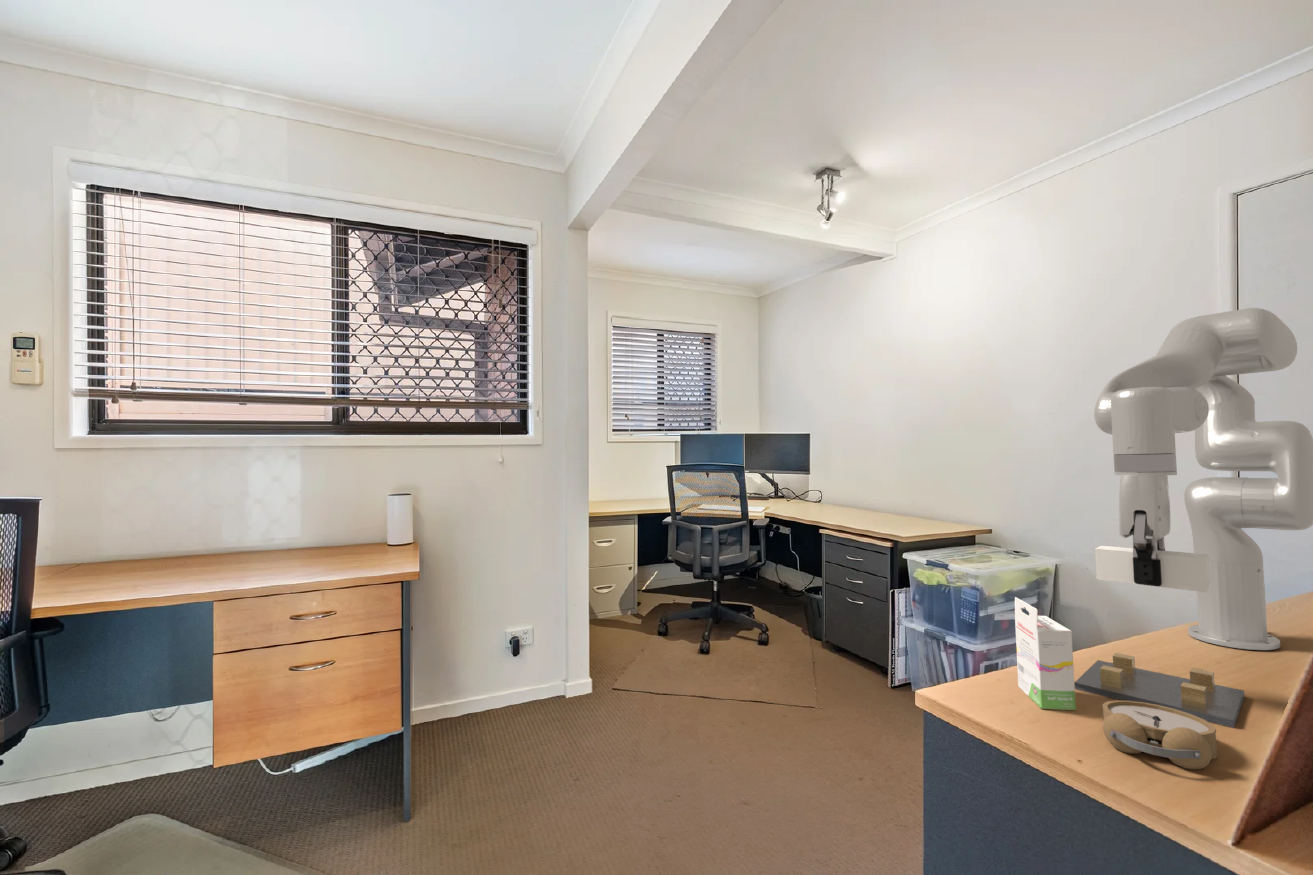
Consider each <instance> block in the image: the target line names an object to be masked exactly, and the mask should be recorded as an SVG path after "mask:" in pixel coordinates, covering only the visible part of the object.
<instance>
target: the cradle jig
mask: <svg viewBox="0 0 1313 875" xmlns="http://www.w3.org/2000/svg"><path fill="white" fill-rule="evenodd" d="M1135 658H1136V656H1133V655H1129V654H1123V653H1118V652H1115V653H1114V654H1113V655H1112V662H1108V661H1103V660H1098V659H1097V660H1096V661H1095V662H1094V663H1093V664H1092V665H1091V666H1090V667H1089V668H1088V669H1087V670H1086V671H1085V672H1083V673H1082V674H1081V675H1080V677H1078V678H1077V679H1076V681H1074V685H1075V690H1078V691H1082V692H1086V693H1090V694H1094V695H1099V696H1103V697H1106V698H1110V699H1114V700H1121V701H1136V702H1144V703H1149V704H1155V705H1160V706H1164V707H1168V708H1172V709H1176V710H1179V711H1183V712H1186V713H1189V714H1192V715H1194V716H1197V717H1199V718H1202V719H1204V720H1206V721H1207V722H1209V723H1211V724H1217V725H1221V726H1225V727H1229V728H1232V729H1235V726H1236V724H1237V721H1238V717H1239V715H1240V711H1241V708H1242V705H1243V703H1244V700H1245V696H1246V695H1245V690H1244V689H1243V690H1242V689H1238V688H1235V687H1234V688H1233V687H1229V686H1223V685H1220V684H1216V683H1215V672H1214V671H1210V670H1205V669H1201V668H1200V669H1199V668H1195V667H1191V668H1190V670H1189V678H1186V677H1180V676H1177V675H1171V674H1167V673H1161V672H1156V671H1152V670H1146V669H1142V668H1139V667H1136V660H1135Z"/></svg>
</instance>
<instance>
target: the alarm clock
mask: <svg viewBox="0 0 1313 875" xmlns="http://www.w3.org/2000/svg"><path fill="white" fill-rule="evenodd" d="M1102 712H1103V723H1102V724H1103V725H1102V728H1103V730H1102V731H1103V733H1104V736H1105V738H1106V740H1107V741H1108V742H1109V743H1110V744H1111V746H1113V747H1114V748H1115V749H1117V750H1119V751H1120V752H1122V753H1126V754H1130V755H1134V754H1140V753H1142V752H1143V753H1146V754H1148V755H1149V754H1150V755H1153V756H1156V757H1157V756H1158V757H1163V758H1168V759H1169V760H1170V761H1171V762H1172V763H1173V764H1175V765H1177V766H1178V767H1180V768H1183V769H1186V770H1200V769H1204V768H1206V766H1207V767H1208V765H1210V762H1211V760H1215V759H1216V758H1217V757H1218V749H1217V736H1216V735H1217V728H1216V727H1215V726H1214V724H1213V723H1212V722H1208V721H1206V720H1204V719H1202V718H1199V717H1197V716H1194V715H1192V714H1189V713H1186V712H1183V711H1179V710H1176V709H1172V708H1168V707H1164V706H1160V705H1155V704H1149V703H1144V702H1136V701H1122V700H1118V699H1114V700H1108V701H1106V702H1104V703H1103V704H1102Z"/></svg>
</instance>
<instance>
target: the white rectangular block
mask: <svg viewBox="0 0 1313 875" xmlns="http://www.w3.org/2000/svg"><path fill="white" fill-rule="evenodd" d="M1157 552H1158V559H1157V560H1160V563H1161V580H1162V584H1161V586H1156V587H1158V588H1166V589H1173V590H1174V589H1175V590H1181V591H1182V590H1184V591H1189V592H1190V591H1193V592H1196V591H1198V592H1207V591H1208V590H1209V589H1210V576H1209V560H1208V554H1197V553H1194V552H1186V551H1185V552H1182V551H1174V550H1173V551H1171V550H1165V551H1161V550H1157ZM1094 556H1095V557H1094V558H1095V572H1096V576H1095V577H1096V580H1100V581H1108V582H1116V583H1124V584H1133V585H1137V584H1136V583H1135V582H1134V572H1133V547H1123V546H1110V545H1099V546H1098V547H1095V548H1094ZM1140 585H1141V586H1144V585H1143V584H1139V586H1140ZM1147 586H1149V587H1152V586H1151V585H1147Z"/></svg>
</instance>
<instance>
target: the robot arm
mask: <svg viewBox="0 0 1313 875" xmlns="http://www.w3.org/2000/svg"><path fill="white" fill-rule="evenodd" d="M1297 354H1298V343H1297V338H1296V337H1295V334H1294V332H1293V330H1292V329H1291V328H1290V327H1289V326H1288V325H1287V324H1286V323H1285V322H1284V321H1283V320H1282V319H1281V318H1279V316H1277V315H1276V314H1274V313H1273V312H1271V311H1269V310H1267V309H1264V308H1258V307H1249V308H1243V309H1242V308H1241V309H1237V310H1229V311H1224V312H1223V311H1222V312H1217V313H1212V314H1211V313H1210V314H1204V315H1199V316H1194V317H1191V318H1187V319H1185V320H1182V321H1180V322H1179V323H1176V325H1175V326H1173V327H1172V329H1170V330H1169V333H1168V335H1167V336H1166V337H1165V339H1164V341H1163V343H1162V345H1161V346H1160V349H1159V350H1158V351H1157V352H1156V355H1155V356H1152V357H1150V358H1148V359H1146V360H1144V361H1143V360H1142V361H1141V362H1139V363H1138V364H1135V365H1134V366H1132V367H1129V368H1128V369H1126V370H1124V371H1122V372H1119V373H1117V375H1115V376H1114V377H1112V378H1111V379H1110V380H1109V381H1108V382H1107V383H1106V384H1105V386H1104V387H1103V390H1102V391H1101V392H1100V395H1099V396H1098V398H1097V400H1096V403H1095V406H1094V421H1095V424H1096V425H1097V427H1098V428H1099V430H1101V432H1104V433H1106V434H1108V435H1112V451H1113V452H1112V454H1113V469H1114V472H1113V473H1114V476H1120V479H1119V480H1120V482H1119V498H1118V499H1119V500H1118V501H1119V504H1118V506H1119V509H1118V510H1119V512H1118V514H1119V518H1118V520H1119V536H1120V537H1122V538H1123V539H1127V538H1129V537H1131V536H1132V548H1133V572H1134V582H1135V583H1136V584H1135V585H1140V584H1143V585H1142V586H1148V585H1151V586H1150V587H1157V586H1161V584H1162V580H1161V563H1160V560H1157V559H1158V552H1157V550H1161V551H1166V545H1165V543H1166V542H1165V537H1166V536H1167V535H1169V534H1170V533H1171V504H1170V500H1171V499H1170V491H1169V490H1170V488H1169V487H1170V486H1169V477H1168V476H1177V475H1178V470H1177V454H1176V451H1177V449H1176V448H1177V446H1176V434H1181V433H1190V432H1193V431H1194V451H1195V452H1194V453H1195V458H1196V461H1197V463H1198V464H1199V466H1201V467H1202V468H1204V469H1206V470H1211V471H1218V472H1221V471H1222V472H1223V471H1225V472H1227V471H1228V472H1272V473H1275V474H1277V475H1278V477H1276V478H1275V477H1273V478H1271V477H1270V478H1269V477H1259V478H1258V477H1237V476H1236V477H1234V476H1233V477H1231V476H1230V477H1229V476H1228V477H1227V476H1224V477H1222V476H1219V477H1218V476H1217V477H1214V476H1213V477H1204V478H1199V479H1196V480H1193V481H1192V482H1191V483H1189V484H1188V485H1187V486H1186V488H1185V489H1184V494H1183V496H1184V497H1183V500H1184V505H1185V510H1186V512H1187V516H1188V519H1189V523H1190V529H1191V536H1192V542H1193V544H1192V545H1193V553H1197V554H1208V560H1209V576H1210V589H1209V590H1208V591H1207V592H1198V591H1195V593H1196V604H1197V606H1196V607H1197V623H1198V624H1193V625H1190V626H1189V627H1187V628H1188V629H1187V630H1188V634H1189V636H1190V637H1192V638H1193V639H1197V640H1199V641H1202V642H1205V643H1208V644H1209V643H1210V644H1213V645H1217V646H1222V647H1227V648H1234V649H1240V650H1241V649H1242V650H1250V651H1272V650H1277V649H1280V648H1281V640H1280V639H1279V638H1277V637H1276V636H1273V635H1272V634H1268V621H1267V620H1268V619H1267V606H1266V605H1267V602H1266V591H1265V588H1266V587H1265V573H1264V571H1265V570H1264V556H1263V552H1262V550H1261V548H1260V546H1259V544H1258V543H1257V542H1256V541H1255V540H1254V539H1253V538H1252V537H1251V536H1250V535H1249V534H1248V533H1247V532H1245V530H1243V529H1261V530H1262V529H1263V530H1275V531H1276V530H1279V531H1281V530H1282V531H1302V530H1303V531H1304V530H1306V529H1307V530H1308V529H1309V528H1311V527H1312V526H1313V435H1312V433H1311V431H1310V430H1309V427H1307V426H1305V425H1304V424H1303V423H1300V422H1297V421H1292V420H1272V421H1271V420H1270V421H1268V420H1267V421H1257V420H1256V416H1255V415H1256V408H1255V406H1256V405H1255V404H1256V403H1255V402H1256V401H1255V398H1254V396H1253V395H1252V393H1251V392H1249V391H1248V389H1247V388H1245V387H1244V386H1243V385H1241V384H1240V383H1238V382H1237V381H1235V380H1233V379H1232V378H1230V377H1229V376H1236V375H1245V374H1255V373H1256V374H1257V373H1266V372H1276V371H1281V370H1283V369H1286V368H1289V367H1290V366H1291V365H1292V364H1293V363H1294V361H1295V360H1296V356H1297Z"/></svg>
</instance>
